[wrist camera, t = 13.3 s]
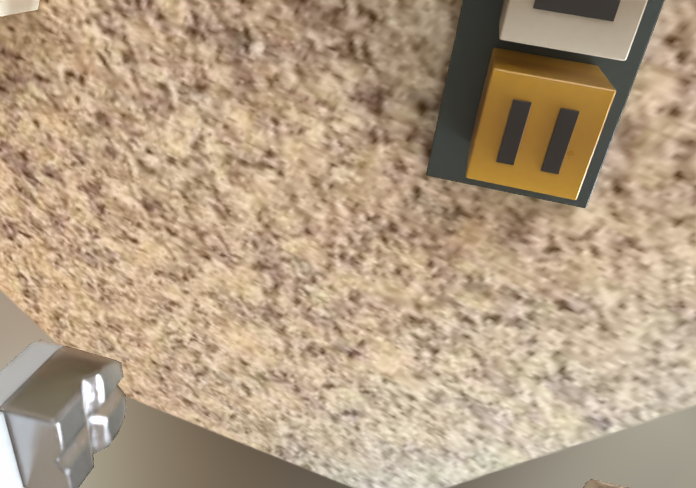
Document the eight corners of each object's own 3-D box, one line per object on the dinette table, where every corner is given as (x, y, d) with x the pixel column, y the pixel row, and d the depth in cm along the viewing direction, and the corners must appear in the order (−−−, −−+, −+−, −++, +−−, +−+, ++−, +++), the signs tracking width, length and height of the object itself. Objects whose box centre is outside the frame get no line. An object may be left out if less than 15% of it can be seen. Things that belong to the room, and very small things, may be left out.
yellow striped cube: (565, 162, 27) (576, 202, 23) (469, 143, 28) (465, 179, 24) (598, 65, 25) (617, 90, 21) (493, 47, 26) (493, 68, 22)
